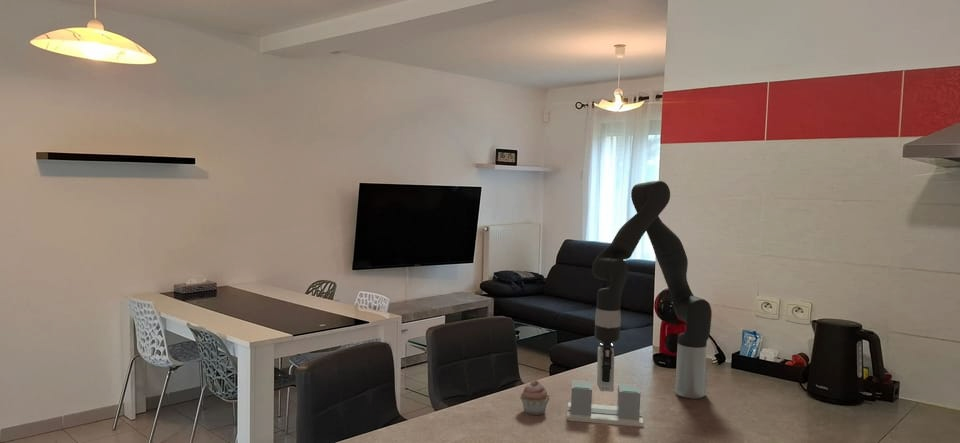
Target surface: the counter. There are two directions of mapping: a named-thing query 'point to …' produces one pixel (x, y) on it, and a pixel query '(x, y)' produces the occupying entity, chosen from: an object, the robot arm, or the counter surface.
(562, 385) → the counter surface
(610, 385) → the skincare box
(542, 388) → the cupcake
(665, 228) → the robot arm
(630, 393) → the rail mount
